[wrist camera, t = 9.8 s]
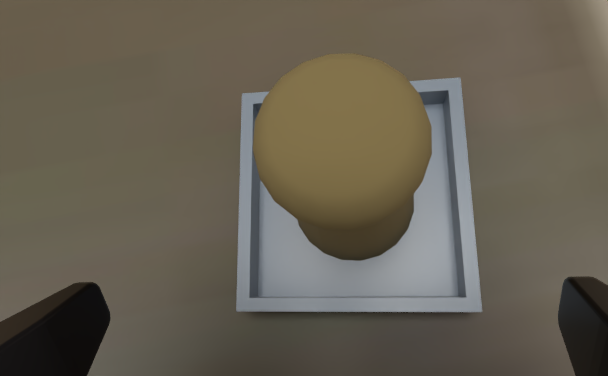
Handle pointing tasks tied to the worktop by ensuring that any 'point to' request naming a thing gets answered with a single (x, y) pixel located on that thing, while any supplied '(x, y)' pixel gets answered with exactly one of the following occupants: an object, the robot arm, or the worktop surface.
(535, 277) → the worktop surface
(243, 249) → the tray
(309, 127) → the cork
